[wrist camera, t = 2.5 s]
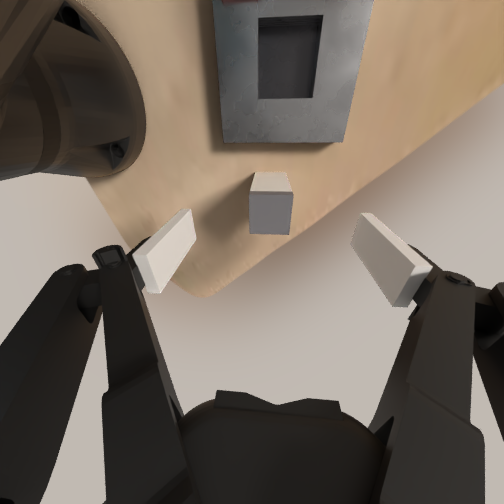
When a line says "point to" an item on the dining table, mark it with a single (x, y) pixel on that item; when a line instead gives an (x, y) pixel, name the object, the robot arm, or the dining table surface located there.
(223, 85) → the socket plate
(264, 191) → the plug
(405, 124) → the dining table surface
